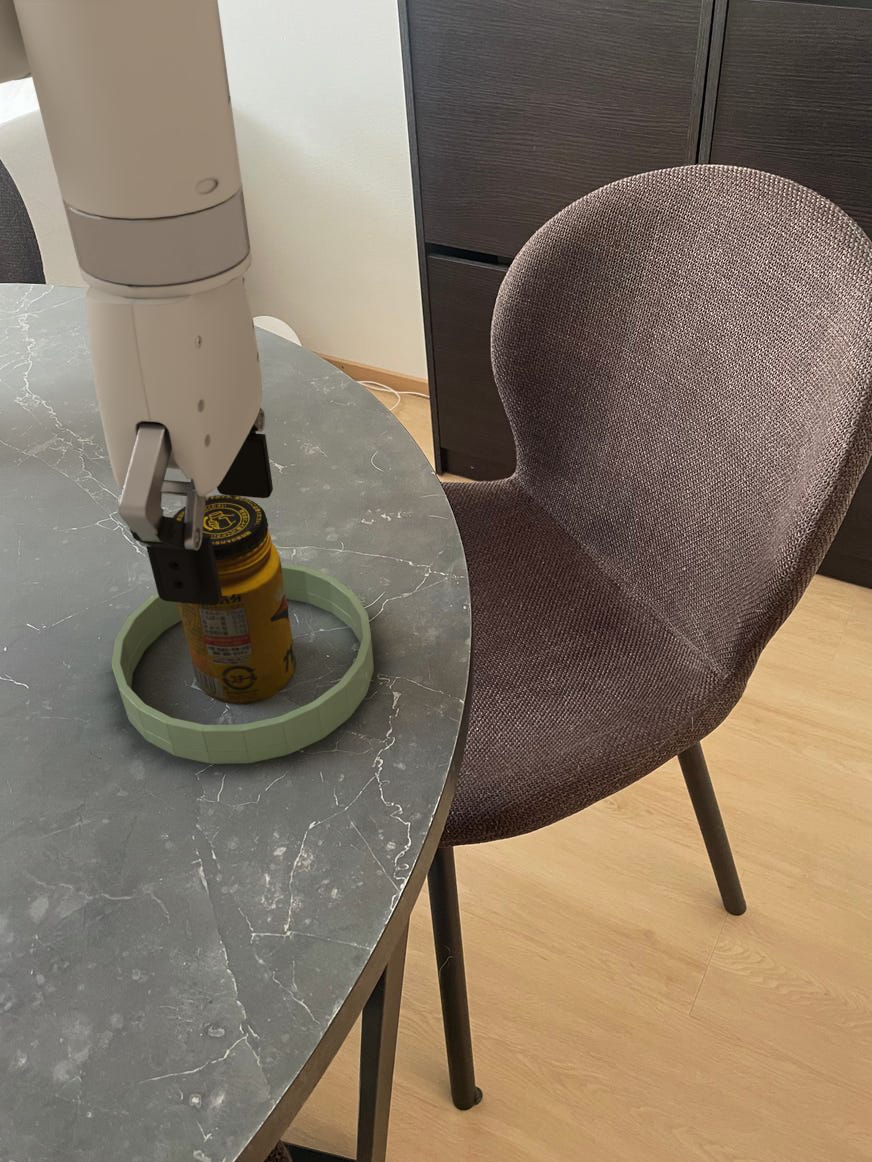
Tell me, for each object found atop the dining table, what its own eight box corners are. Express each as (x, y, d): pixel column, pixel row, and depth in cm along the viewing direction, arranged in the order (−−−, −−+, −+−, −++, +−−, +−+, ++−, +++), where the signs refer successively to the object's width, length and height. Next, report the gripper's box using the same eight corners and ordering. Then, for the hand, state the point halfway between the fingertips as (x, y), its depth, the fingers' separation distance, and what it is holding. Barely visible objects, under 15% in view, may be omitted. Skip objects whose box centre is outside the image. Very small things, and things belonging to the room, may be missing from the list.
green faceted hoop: (87, 767, 59) (69, 718, 57) (176, 599, 71) (165, 552, 68) (345, 792, 58) (338, 743, 55) (394, 617, 69) (391, 570, 67)
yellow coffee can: (324, 657, 66) (303, 498, 58) (257, 751, 60) (224, 588, 52) (222, 631, 67) (188, 473, 59) (148, 719, 61) (99, 557, 53)
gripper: (149, 162, 53) (204, 454, 64) (-13, 310, 40) (92, 641, 51) (294, 171, 52) (323, 464, 63) (178, 324, 39) (241, 656, 51)
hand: (220, 543), depth 57 cm, fingers open, 9 cm apart
